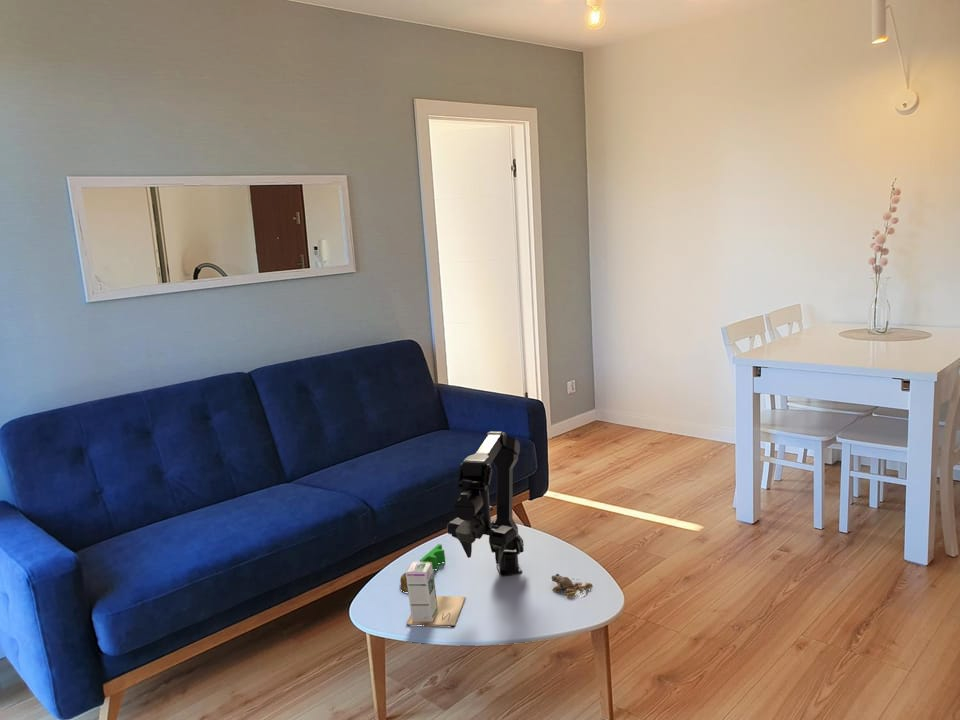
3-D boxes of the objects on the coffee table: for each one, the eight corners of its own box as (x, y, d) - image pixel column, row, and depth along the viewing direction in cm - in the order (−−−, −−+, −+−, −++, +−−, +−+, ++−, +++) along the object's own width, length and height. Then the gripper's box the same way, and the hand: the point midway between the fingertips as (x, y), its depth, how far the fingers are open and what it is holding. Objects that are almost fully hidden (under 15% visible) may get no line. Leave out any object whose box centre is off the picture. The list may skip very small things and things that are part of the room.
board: (406, 625, 194) (406, 623, 194) (420, 597, 208) (420, 595, 207) (454, 627, 192) (454, 624, 191) (465, 598, 205) (465, 596, 205)
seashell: (417, 583, 207) (390, 576, 213) (418, 597, 208) (391, 589, 214) (439, 570, 215) (413, 564, 221) (440, 584, 216) (414, 577, 222)
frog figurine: (541, 596, 203) (540, 583, 203) (560, 576, 213) (559, 564, 213) (579, 605, 197) (578, 592, 197) (597, 584, 207) (596, 572, 206)
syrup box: (432, 622, 193) (427, 571, 190) (411, 622, 195) (405, 571, 192) (438, 611, 199) (432, 561, 196) (417, 610, 200) (411, 560, 197)
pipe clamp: (432, 576, 220) (430, 562, 219) (421, 574, 222) (419, 560, 221) (450, 558, 230) (448, 545, 229) (440, 557, 231) (438, 543, 230)
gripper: (432, 511, 194) (437, 566, 197) (491, 522, 183) (496, 580, 186) (456, 496, 203) (461, 549, 206) (515, 506, 192) (519, 562, 195)
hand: (483, 560), depth 198 cm, fingers open, 9 cm apart
